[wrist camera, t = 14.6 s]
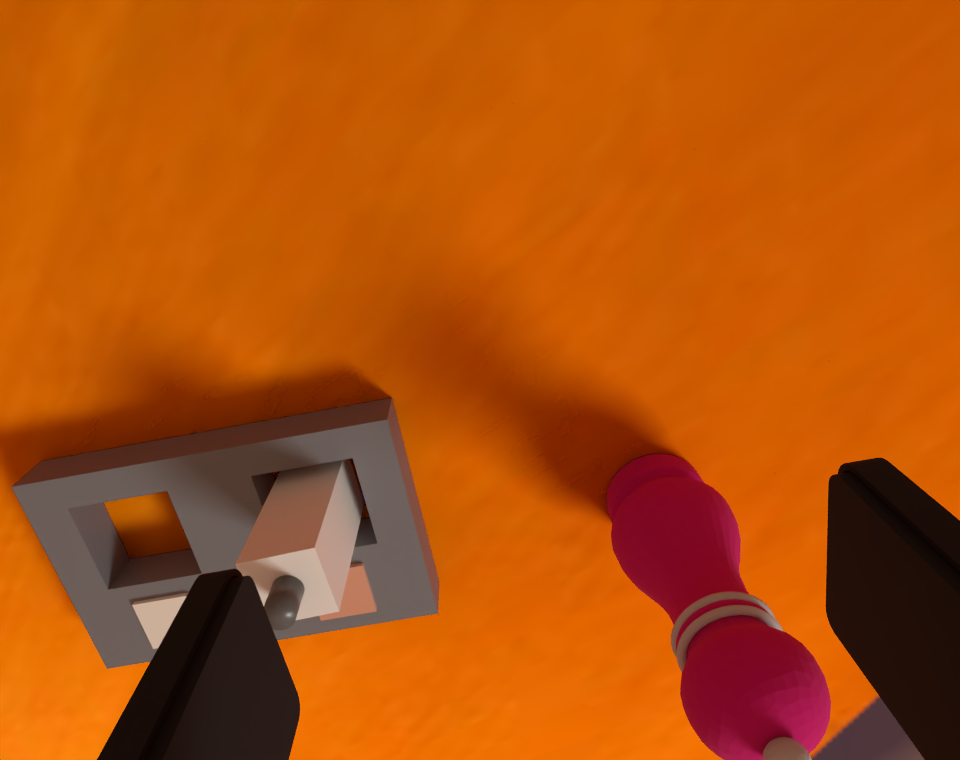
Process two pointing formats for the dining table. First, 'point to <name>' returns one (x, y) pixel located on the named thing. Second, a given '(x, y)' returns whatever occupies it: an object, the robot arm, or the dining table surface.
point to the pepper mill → (715, 616)
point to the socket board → (227, 522)
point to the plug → (304, 542)
